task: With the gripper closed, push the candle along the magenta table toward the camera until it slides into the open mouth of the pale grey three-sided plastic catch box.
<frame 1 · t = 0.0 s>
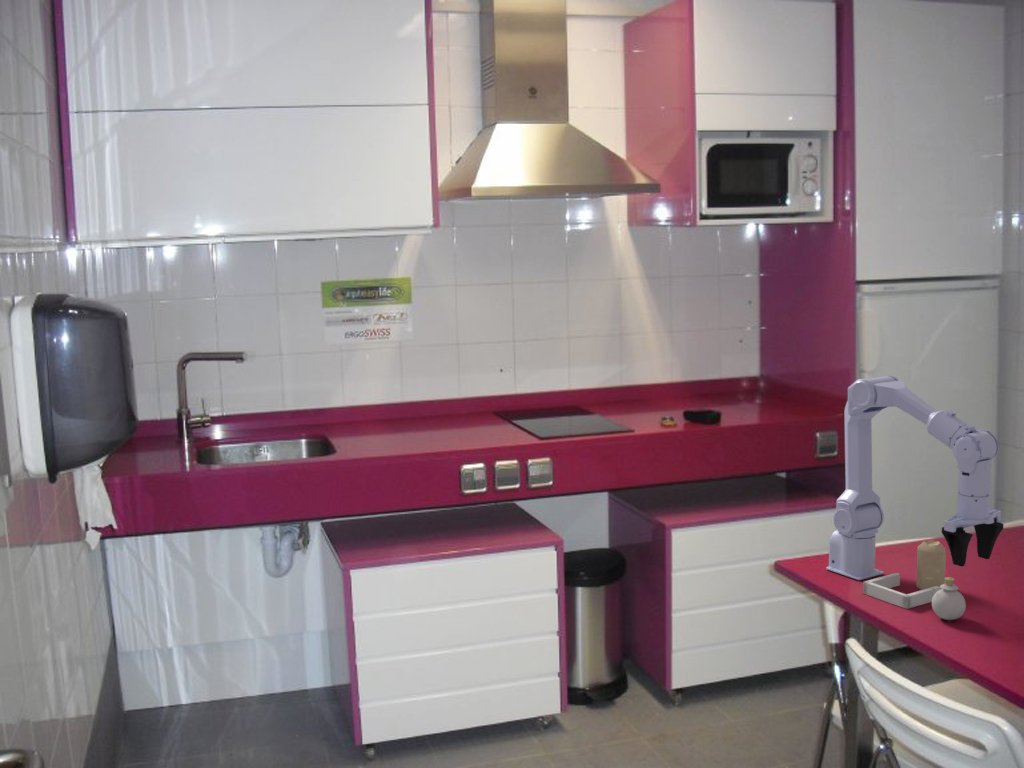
hand: (971, 561, 203), 10 cm above the table, fingers open, 7 cm apart
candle: (930, 588, 218), on the table
catch box: (904, 595, 214), on the table
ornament: (944, 619, 201), on the table
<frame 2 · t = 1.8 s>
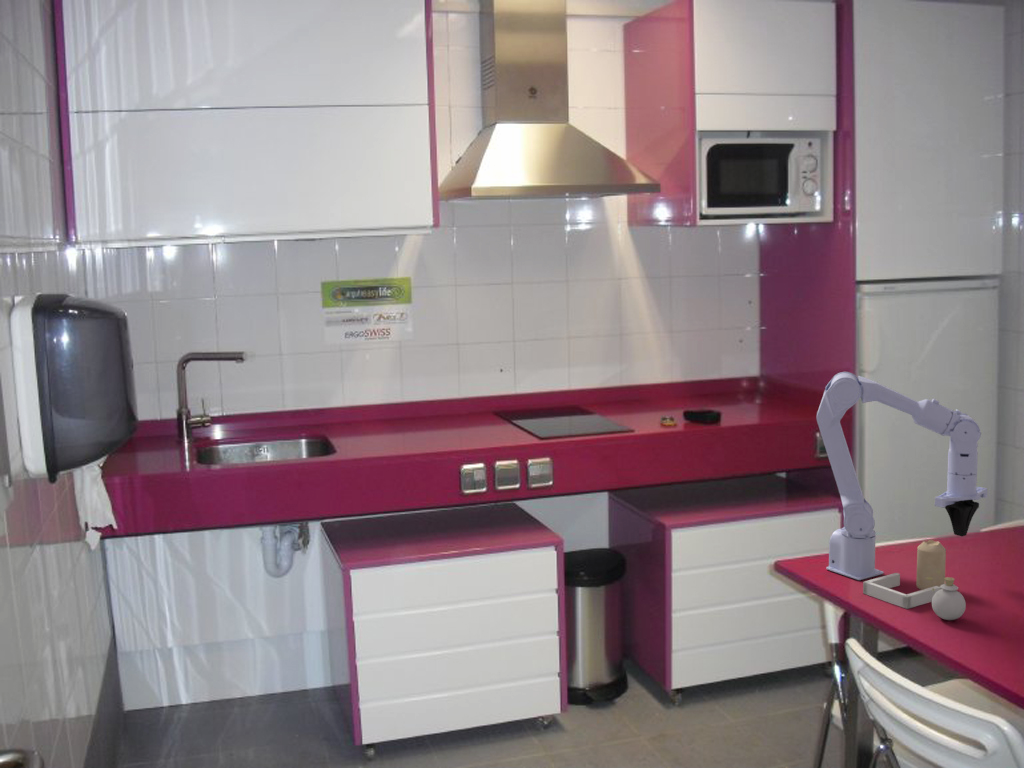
hand: (960, 534, 221), 10 cm above the table, fingers closed
nothing on the table moved.
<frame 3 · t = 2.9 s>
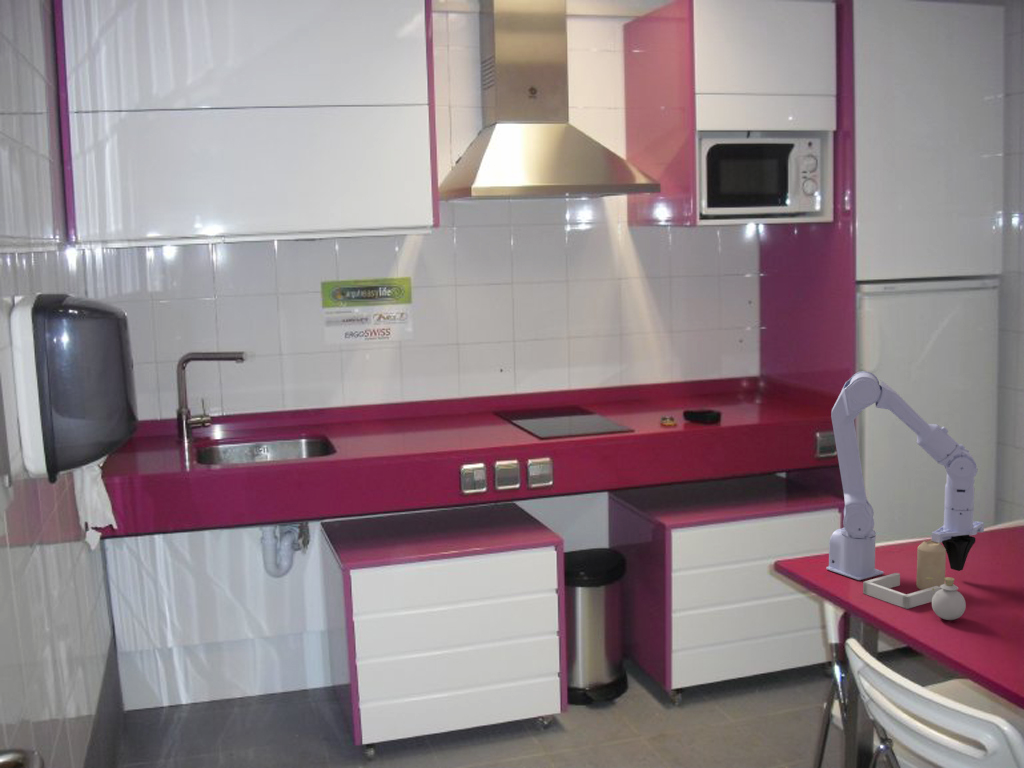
hand: (956, 569, 222), 2 cm above the table, fingers closed
nothing on the table moved.
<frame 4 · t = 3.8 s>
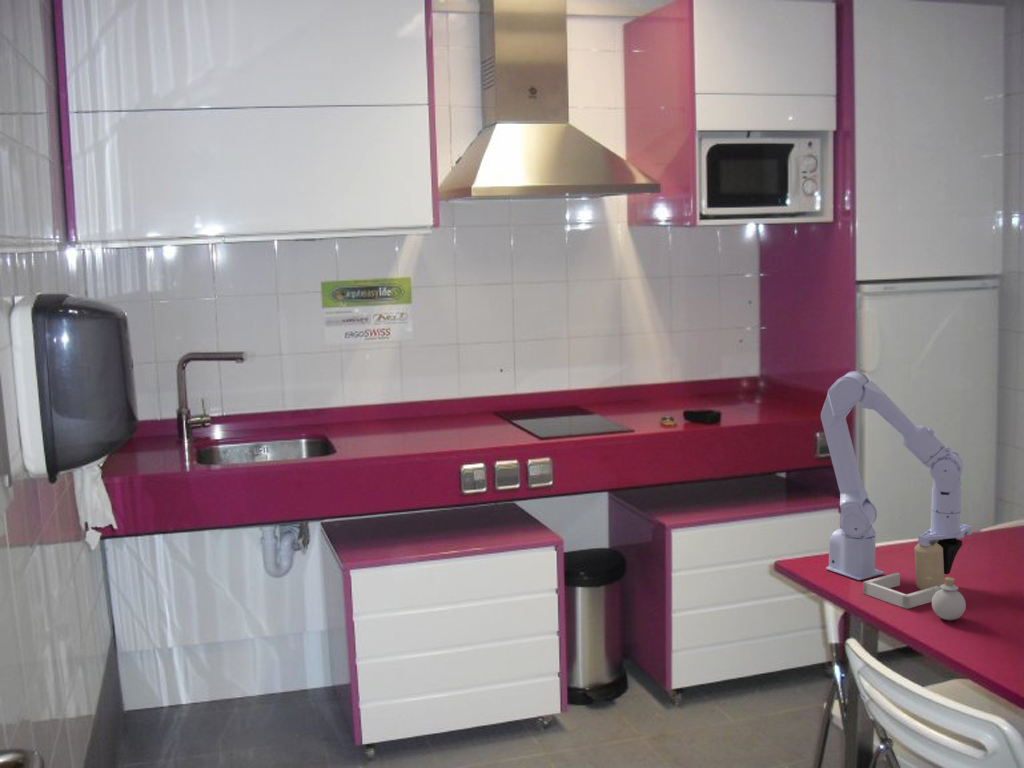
hand: (943, 572, 220), 2 cm above the table, fingers closed
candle: (930, 587, 218), on the table, touching gripper
everything else where it was.
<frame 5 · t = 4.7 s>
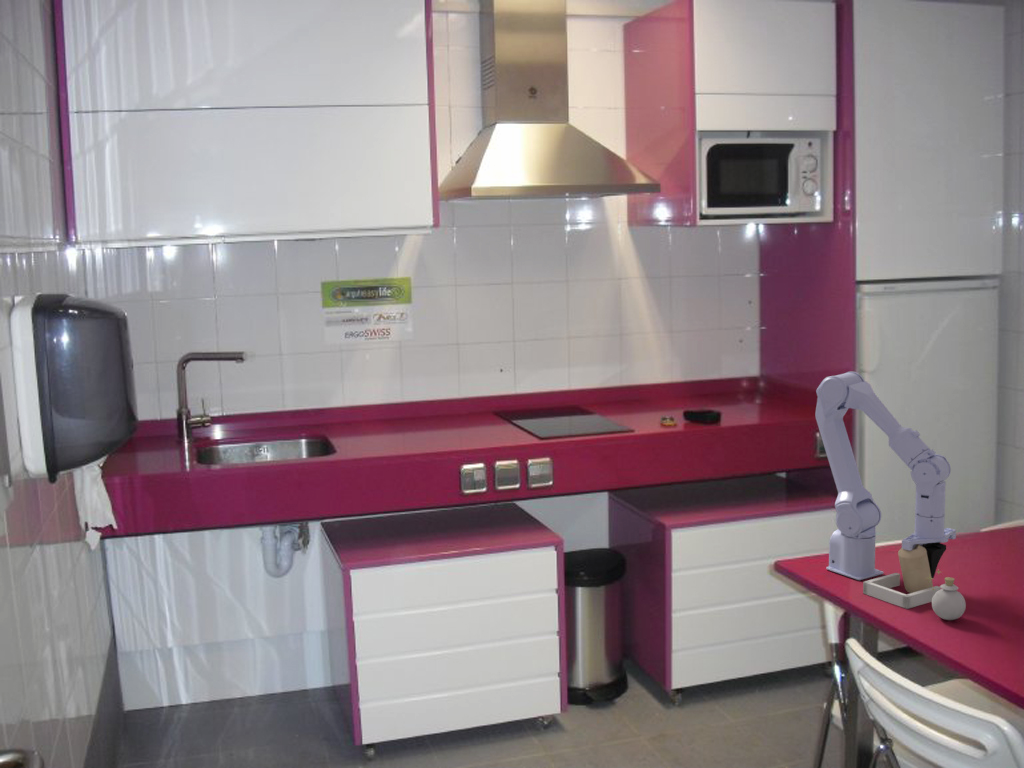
hand: (928, 577, 217), 2 cm above the table, fingers closed
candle: (919, 588, 216), point 1 cm above the table, touching gripper
everything else where it was.
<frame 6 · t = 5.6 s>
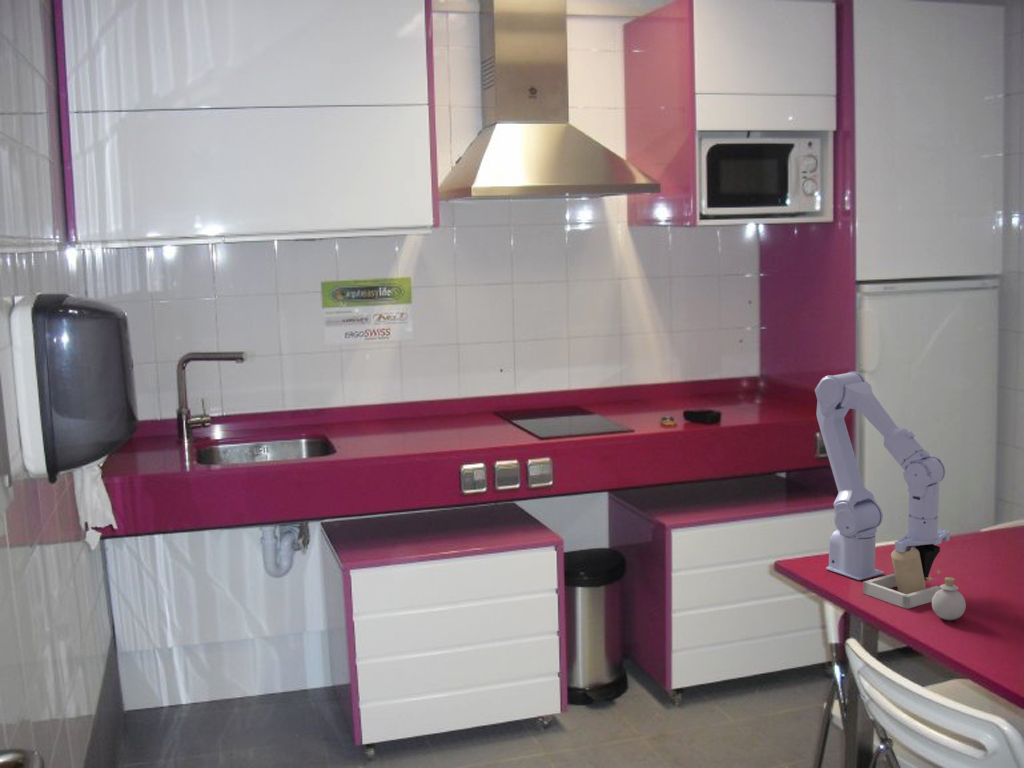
hand: (921, 579, 216), 2 cm above the table, fingers closed
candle: (912, 590, 215), point 1 cm above the table, touching gripper
everything else where it was.
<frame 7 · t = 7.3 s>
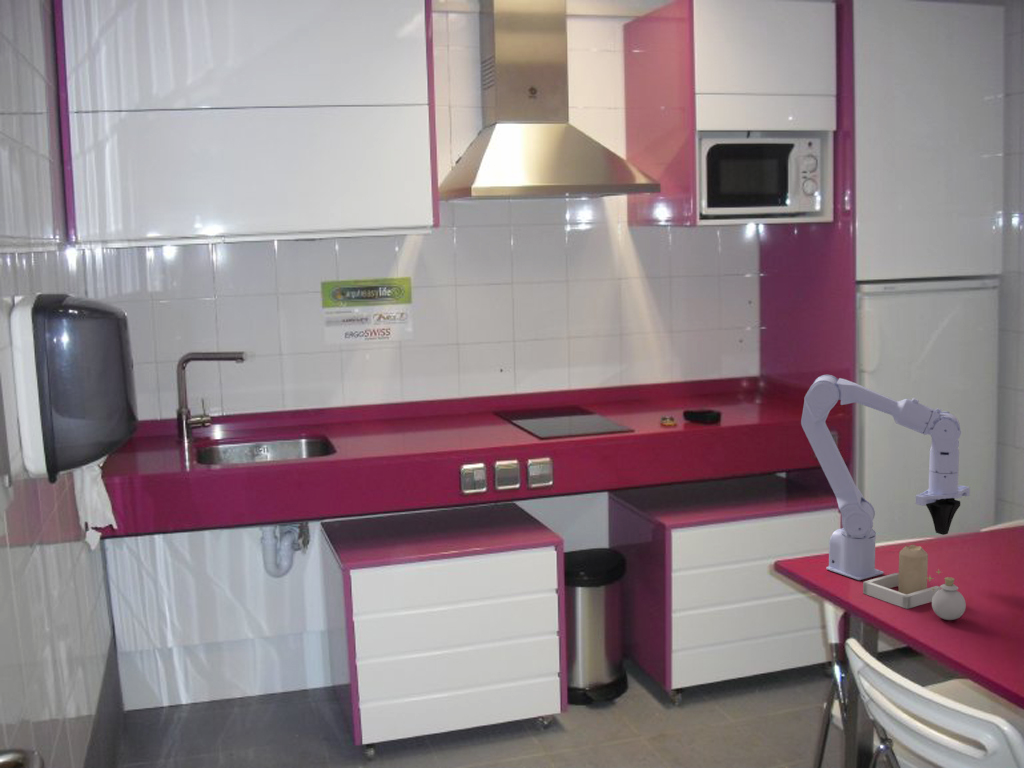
hand: (941, 533, 221), 10 cm above the table, fingers closed
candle: (912, 594, 215), on the table
everything else where it was.
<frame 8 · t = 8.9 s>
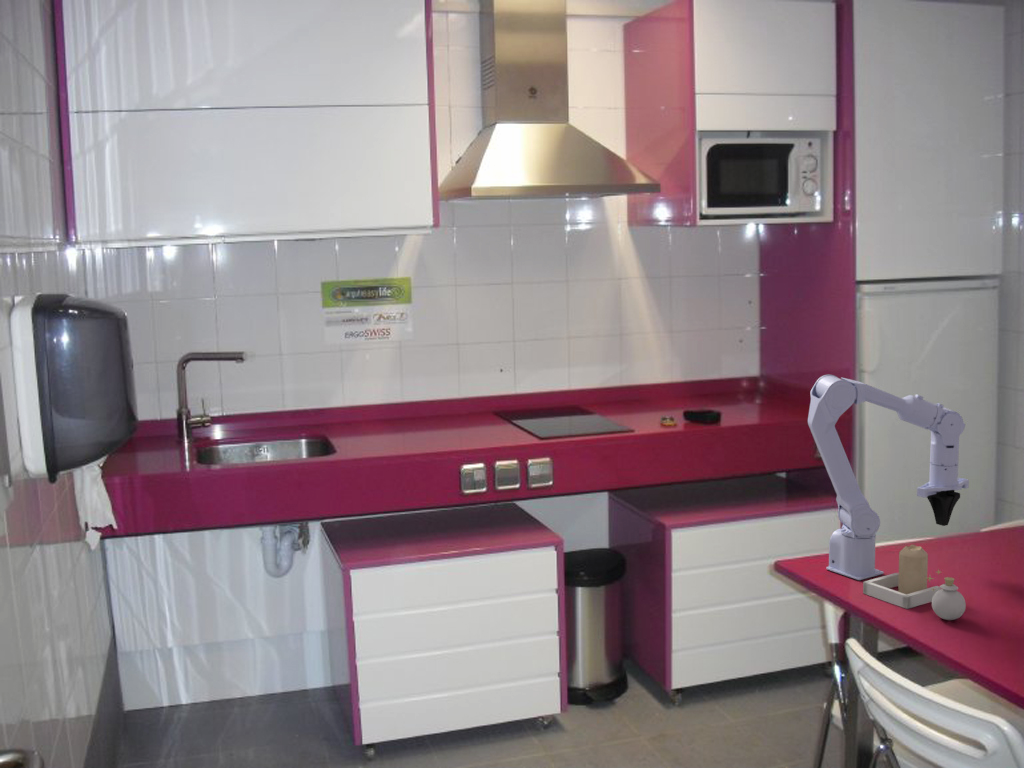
hand: (942, 524, 227), 10 cm above the table, fingers closed
nothing on the table moved.
at the end: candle inside the target area on the catch box (3.6 cm from its centre), point 0.0 cm above the catch box's base; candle tilted 0° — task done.
